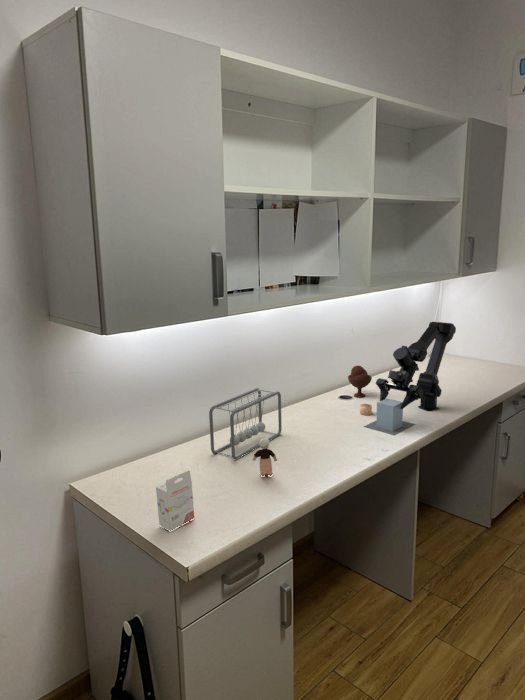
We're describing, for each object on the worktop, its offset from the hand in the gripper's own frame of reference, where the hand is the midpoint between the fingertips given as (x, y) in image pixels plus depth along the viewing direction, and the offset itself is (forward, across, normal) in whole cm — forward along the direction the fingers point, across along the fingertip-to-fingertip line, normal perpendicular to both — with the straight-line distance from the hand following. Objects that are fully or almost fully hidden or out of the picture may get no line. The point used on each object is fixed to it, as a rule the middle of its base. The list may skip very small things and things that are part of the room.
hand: (390, 406), depth 204 cm
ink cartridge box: (+77, -4, -64) cm, 100 cm away
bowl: (+2, -16, +11) cm, 19 cm away
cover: (+6, 0, +6) cm, 8 cm away
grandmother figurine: (+51, -7, -38) cm, 64 cm away
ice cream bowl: (-12, -33, +25) cm, 43 cm away
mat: (+6, -1, +7) cm, 9 cm away
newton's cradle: (+41, -30, -28) cm, 58 cm away
